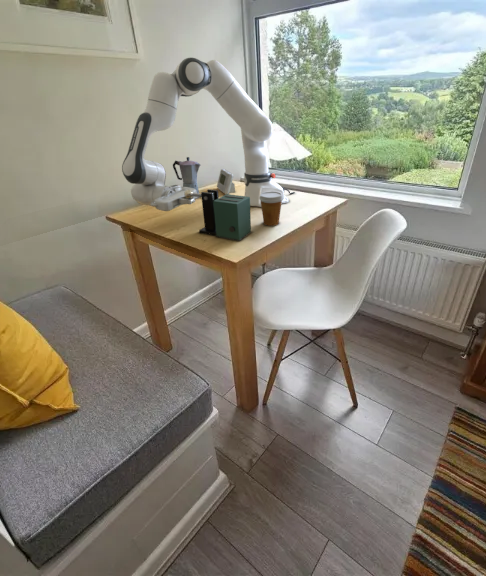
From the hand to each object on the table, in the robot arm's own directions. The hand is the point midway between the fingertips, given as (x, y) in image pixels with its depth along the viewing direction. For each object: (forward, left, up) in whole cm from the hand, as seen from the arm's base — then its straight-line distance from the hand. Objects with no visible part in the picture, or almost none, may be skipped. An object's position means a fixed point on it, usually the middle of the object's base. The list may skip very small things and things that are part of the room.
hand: (192, 201), depth 127 cm
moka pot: (-4, -45, -11) cm, 47 cm away
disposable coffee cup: (-30, +7, -11) cm, 33 cm away
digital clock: (-24, -49, -11) cm, 56 cm away
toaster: (-13, +13, -11) cm, 21 cm away
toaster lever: (-2, +2, +1) cm, 4 cm away
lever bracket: (-6, +6, -11) cm, 14 cm away
